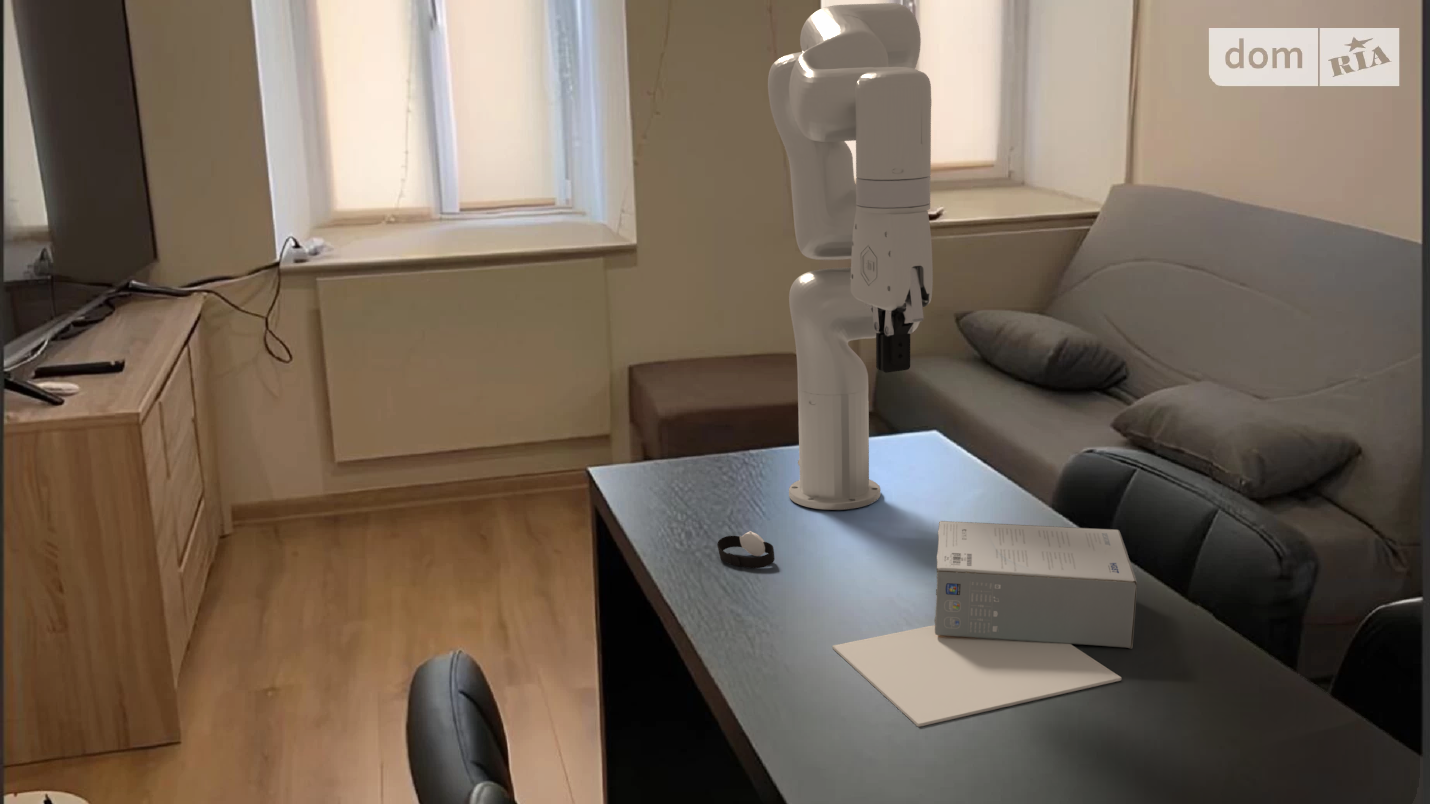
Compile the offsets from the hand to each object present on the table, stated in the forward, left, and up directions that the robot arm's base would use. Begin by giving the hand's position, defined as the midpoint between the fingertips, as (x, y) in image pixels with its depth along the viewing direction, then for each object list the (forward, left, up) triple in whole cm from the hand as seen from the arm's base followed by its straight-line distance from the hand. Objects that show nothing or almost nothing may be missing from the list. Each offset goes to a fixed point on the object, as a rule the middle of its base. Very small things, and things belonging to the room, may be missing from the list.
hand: (893, 369), depth 139 cm
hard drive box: (+4, +3, -22) cm, 23 cm away
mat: (+16, 0, -27) cm, 31 cm away
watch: (-19, -10, -27) cm, 35 cm away
